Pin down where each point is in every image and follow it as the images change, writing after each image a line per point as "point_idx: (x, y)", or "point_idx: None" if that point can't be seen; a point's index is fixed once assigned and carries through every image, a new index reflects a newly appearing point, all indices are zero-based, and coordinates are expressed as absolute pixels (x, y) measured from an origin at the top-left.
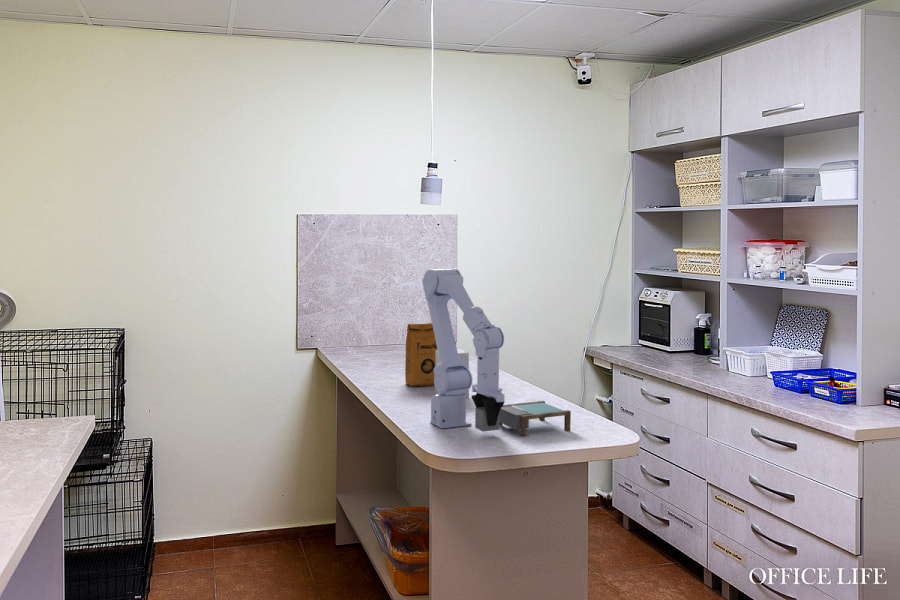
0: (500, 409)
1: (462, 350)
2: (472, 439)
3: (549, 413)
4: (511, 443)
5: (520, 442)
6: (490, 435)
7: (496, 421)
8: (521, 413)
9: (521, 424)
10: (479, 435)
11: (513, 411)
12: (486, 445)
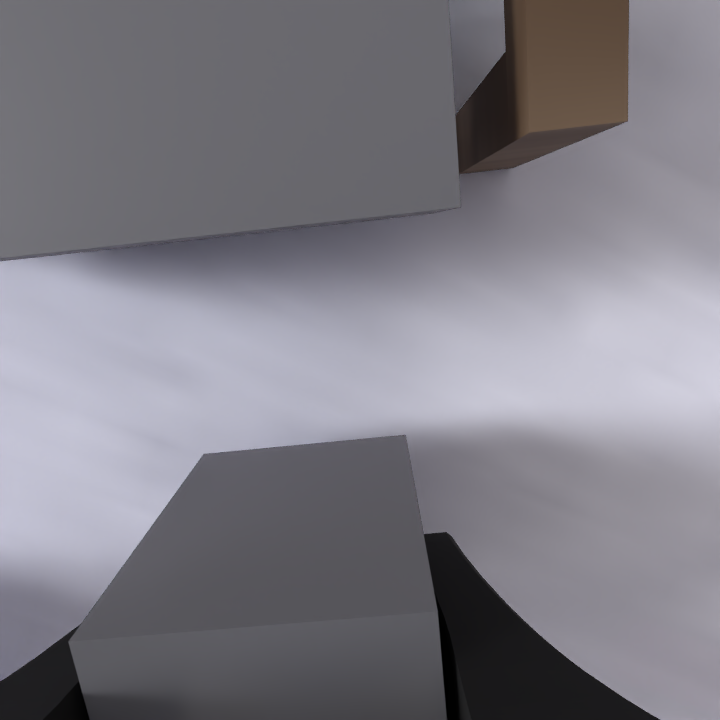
0: (594, 679)
1: None
2: None
3: None
4: (699, 398)
5: (709, 291)
6: None
7: (466, 559)
8: (360, 19)
9: (525, 150)
10: None
11: (140, 121)
12: (652, 635)
